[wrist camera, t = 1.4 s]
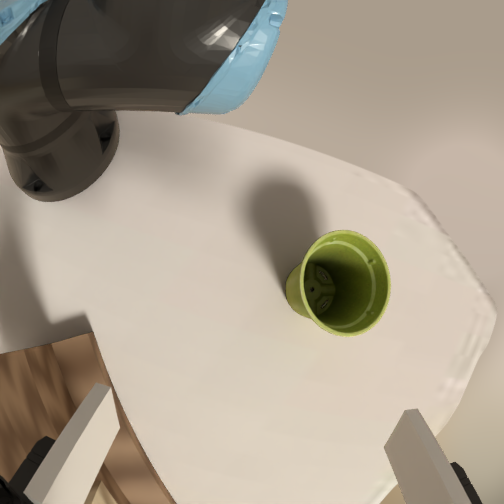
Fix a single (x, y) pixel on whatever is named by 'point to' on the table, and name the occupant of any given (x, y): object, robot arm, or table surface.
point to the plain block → (99, 494)
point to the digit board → (68, 414)
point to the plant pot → (341, 284)
